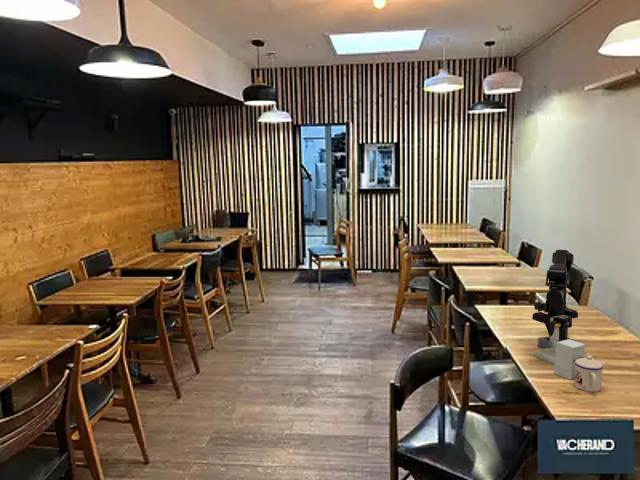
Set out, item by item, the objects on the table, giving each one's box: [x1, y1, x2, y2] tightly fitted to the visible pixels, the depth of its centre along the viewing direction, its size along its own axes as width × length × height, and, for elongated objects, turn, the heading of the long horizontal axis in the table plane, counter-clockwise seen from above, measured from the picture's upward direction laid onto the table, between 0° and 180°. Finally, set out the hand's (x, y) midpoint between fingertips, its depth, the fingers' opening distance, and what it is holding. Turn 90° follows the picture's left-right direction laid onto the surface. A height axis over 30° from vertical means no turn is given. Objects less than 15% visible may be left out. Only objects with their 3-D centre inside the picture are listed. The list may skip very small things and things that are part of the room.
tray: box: [534, 347, 556, 366], centre depth 211 cm, size 10×10×2 cm
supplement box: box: [553, 339, 586, 381], centre depth 194 cm, size 7×7×13 cm
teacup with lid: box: [573, 354, 604, 393], centre depth 182 cm, size 12×9×12 cm
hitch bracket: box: [537, 335, 564, 349], centre depth 222 cm, size 8×8×4 cm
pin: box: [549, 321, 561, 348], centre depth 210 cm, size 5×5×10 cm
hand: (554, 335), depth 210 cm, fingers closed on pin, 4 cm apart
